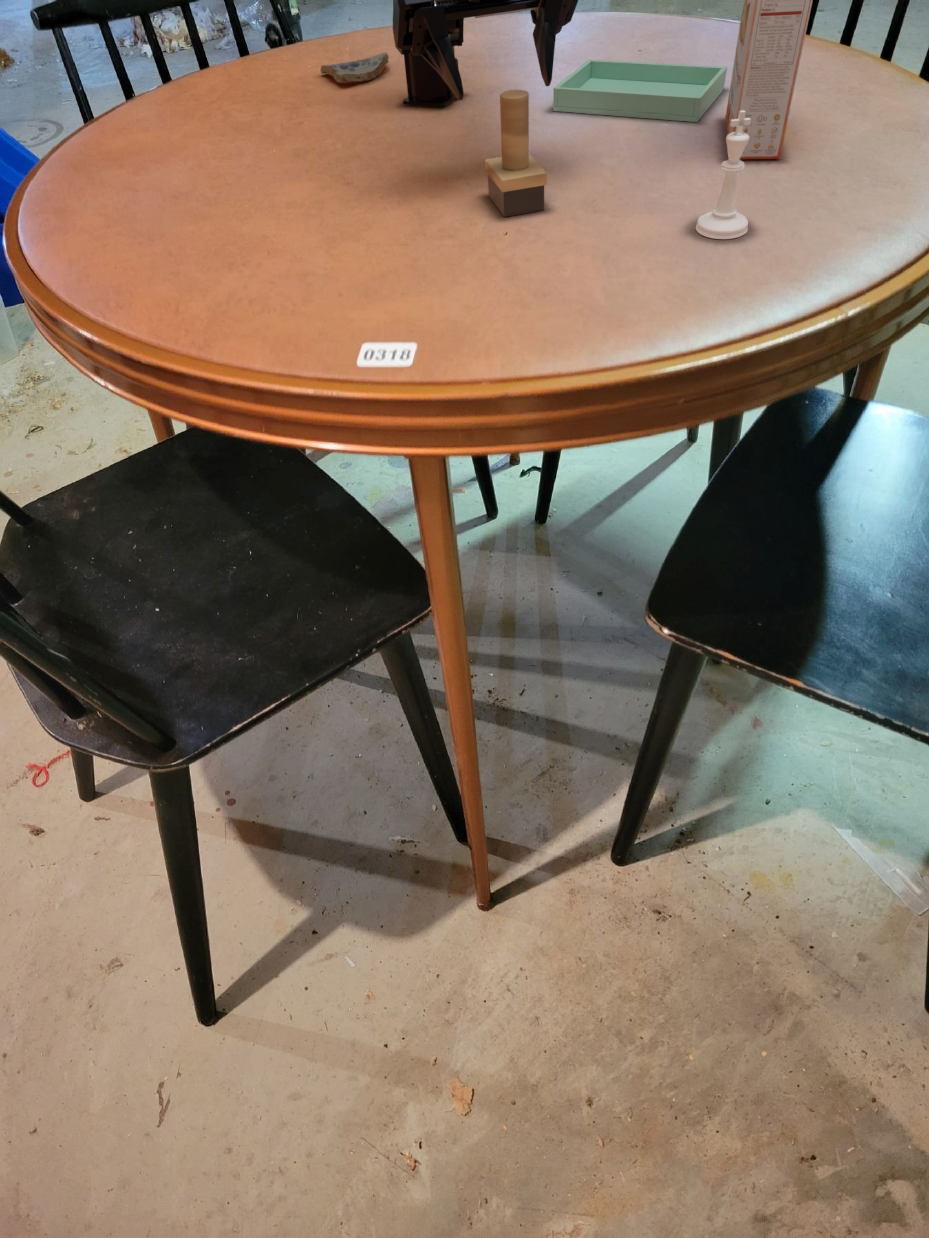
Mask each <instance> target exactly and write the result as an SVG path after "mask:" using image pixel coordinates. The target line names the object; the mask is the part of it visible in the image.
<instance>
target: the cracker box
mask: <svg viewBox="0 0 929 1238" xmlns="http://www.w3.org/2000/svg"><path fill="white" fill-rule="evenodd" d="M812 6H813V0H743V2H742V6H741V14H740V22H739V27H738V34H737V40H736V41H737V42H736V47H735V54H734V59H733V66H732V73H731V80H730V86H729V93H728V99H727V106H726V113H725V121H726V122H725V124H726V136H727V135H728V134H730V133H733V132H736V127H737V126H734V127H731V126H730V122H731V120H732V119H738V115H739V111H742V110H744V111H745V112H746V113H745V118H751V123H750V125H743V130H742V132H744V133H746V134H748V135H749V141H748V143H747V145H746V146H745V148H744V151H743V153H742V155H741V157H740V161H743V160H775V159H776V160H780V159H781V156H782V150H783V145H784V142H785V141H784V139H785V135H786V131H787V126H788V120H789V116H790V111H791V106H792V103H793V97H794V92H795V87H796V82H797V77H798V72H799V68H800V63H801V60H802V59H801V58H802V53H803V48H804V44H805V39H806V34H807V30H808V26H809V20H810V15H811V10H812Z"/></svg>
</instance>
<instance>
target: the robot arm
mask: <svg viewBox="0 0 929 1238" xmlns="http://www.w3.org/2000/svg"><path fill="white" fill-rule="evenodd" d="M578 3H579V0H393V3H392V35H393V41H394V46H395V49H396V50H397V51H398V52H399V53H400V55H403V60H404V70H405V80H406V89H407V97H405V98H403V99H402V105H407V106H420V107H431V108H444V107H445V106H448V104H450V103H451V102H453V101H455V100H456V99H457V100H458V101H463V99H464V95H465V93H464V92H465V91H464V86H463V80H462V76H461V72H460V69H459V60H458V58H456V56H455V54H456V53H455V47H463V43H464V41H465V40H464V28H465V27H464V23H465V22H464V21H465V19H466V18H467V19H468V18H475V19H480V18H481V19H482V18H487V17H493V16H501V15H507V14H515V13H521V12H528V11H530V16H531V22H532V24H534V28H533V30H532V38H533V42H534V47H535V52H536V56H537V61H538V66H539V70H540V75H541V78H542V80H543V83H544V85H545V87H550V85H551V83H552V81H553V69H554V59H555V58H554V57H555V49H556V37H557V35H559V33H561V31H562V29H563V27H565V26H567V25H568V24H569V23H571V22H572V19H573V17H574V14H575V11H576V8H577V5H578Z"/></svg>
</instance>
